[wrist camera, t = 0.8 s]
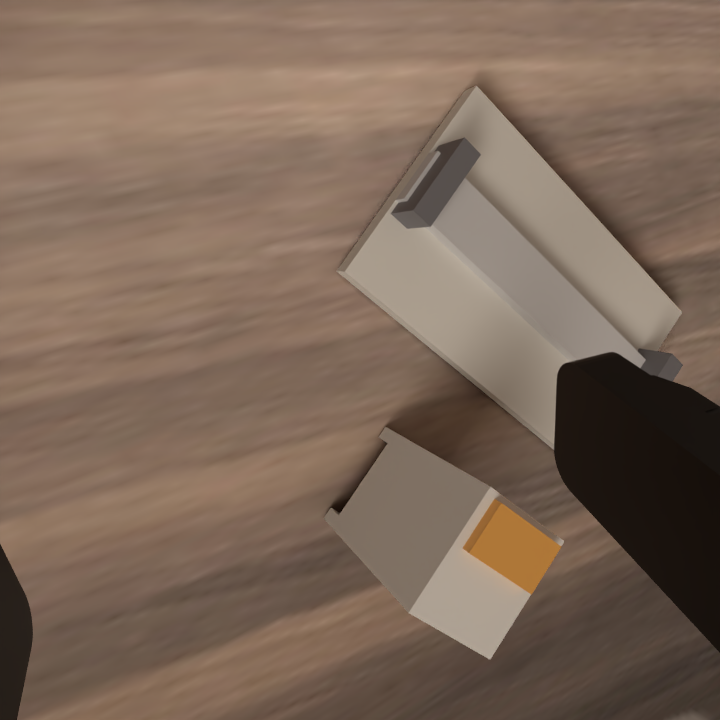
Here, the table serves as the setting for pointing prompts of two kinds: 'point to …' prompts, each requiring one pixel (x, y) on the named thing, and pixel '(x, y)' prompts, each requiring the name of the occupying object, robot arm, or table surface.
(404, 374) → the table surface
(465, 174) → the mounting board
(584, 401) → the robot arm
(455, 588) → the rail module
